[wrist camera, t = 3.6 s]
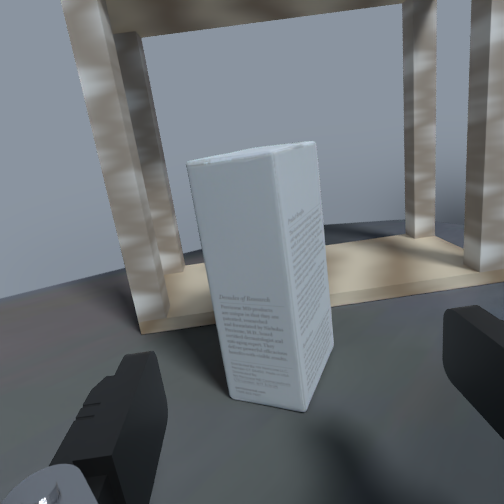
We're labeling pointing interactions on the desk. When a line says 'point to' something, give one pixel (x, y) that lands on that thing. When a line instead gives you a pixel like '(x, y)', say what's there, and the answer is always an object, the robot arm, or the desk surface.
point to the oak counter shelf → (337, 255)
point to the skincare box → (266, 269)
